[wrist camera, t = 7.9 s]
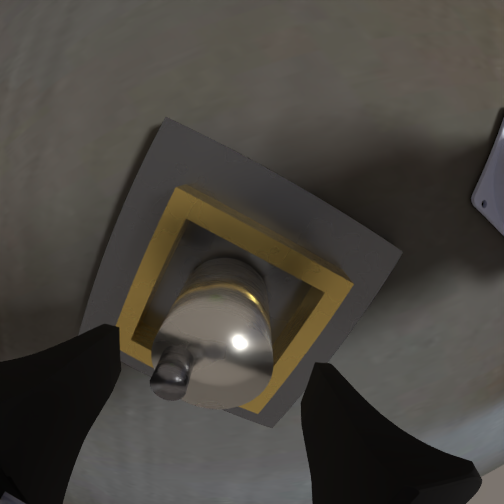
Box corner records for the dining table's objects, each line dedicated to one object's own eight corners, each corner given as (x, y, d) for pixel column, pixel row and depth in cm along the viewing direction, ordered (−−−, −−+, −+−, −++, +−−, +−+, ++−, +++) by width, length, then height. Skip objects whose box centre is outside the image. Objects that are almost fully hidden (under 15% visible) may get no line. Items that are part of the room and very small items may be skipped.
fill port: (394, 246, 17) (420, 263, 14) (271, 416, 20) (273, 449, 17) (172, 119, 15) (153, 110, 12) (86, 327, 19) (63, 351, 16)
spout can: (274, 265, 16) (289, 347, 9) (260, 340, 17) (262, 444, 10) (187, 251, 16) (136, 321, 9) (181, 327, 17) (141, 424, 10)
